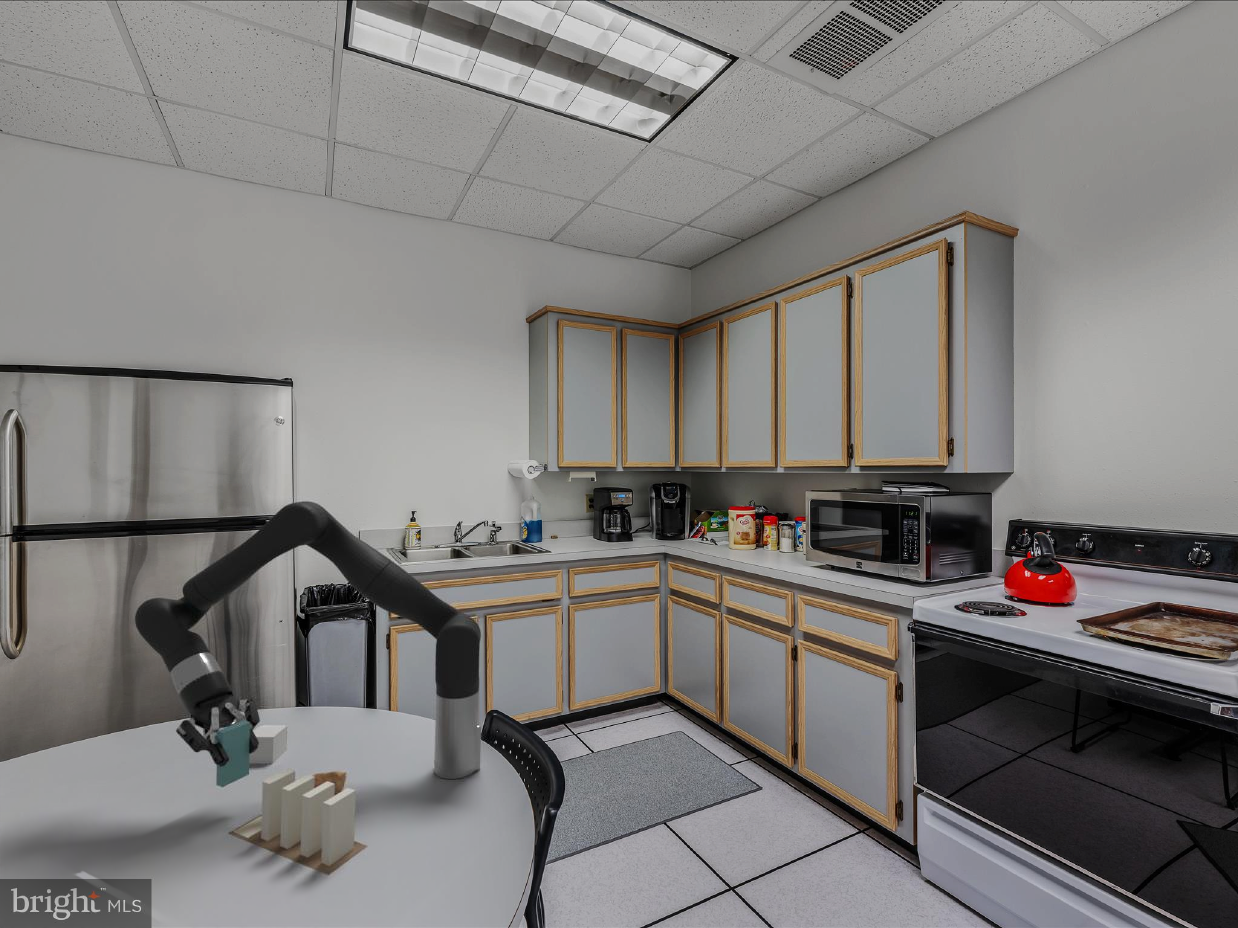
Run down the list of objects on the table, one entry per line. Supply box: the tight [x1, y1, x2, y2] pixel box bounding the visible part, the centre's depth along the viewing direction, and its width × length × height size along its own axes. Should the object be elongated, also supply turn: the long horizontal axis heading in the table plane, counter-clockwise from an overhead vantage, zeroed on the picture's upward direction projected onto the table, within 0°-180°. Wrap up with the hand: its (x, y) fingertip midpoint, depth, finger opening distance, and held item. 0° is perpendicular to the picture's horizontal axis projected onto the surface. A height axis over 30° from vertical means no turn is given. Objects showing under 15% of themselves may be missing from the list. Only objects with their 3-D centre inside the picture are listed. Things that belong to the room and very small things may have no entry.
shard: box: [312, 771, 347, 796], centre depth 120 cm, size 11×8×2 cm
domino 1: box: [261, 768, 296, 841], centre depth 105 cm, size 2×5×10 cm, turn 156°
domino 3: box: [301, 781, 335, 857], centre depth 101 cm, size 2×5×10 cm, turn 156°
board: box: [228, 814, 368, 876], centre depth 103 cm, size 25×8×1 cm, turn 66°
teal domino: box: [215, 721, 250, 788], centre depth 110 cm, size 2×5×10 cm, turn 156°
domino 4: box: [321, 787, 356, 866], centre depth 99 cm, size 2×5×10 cm, turn 156°
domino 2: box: [280, 774, 315, 849], centre depth 103 cm, size 2×5×10 cm, turn 156°
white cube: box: [249, 724, 288, 765], centre depth 133 cm, size 6×6×6 cm
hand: (239, 756), depth 110 cm, fingers closed on teal domino, 5 cm apart
